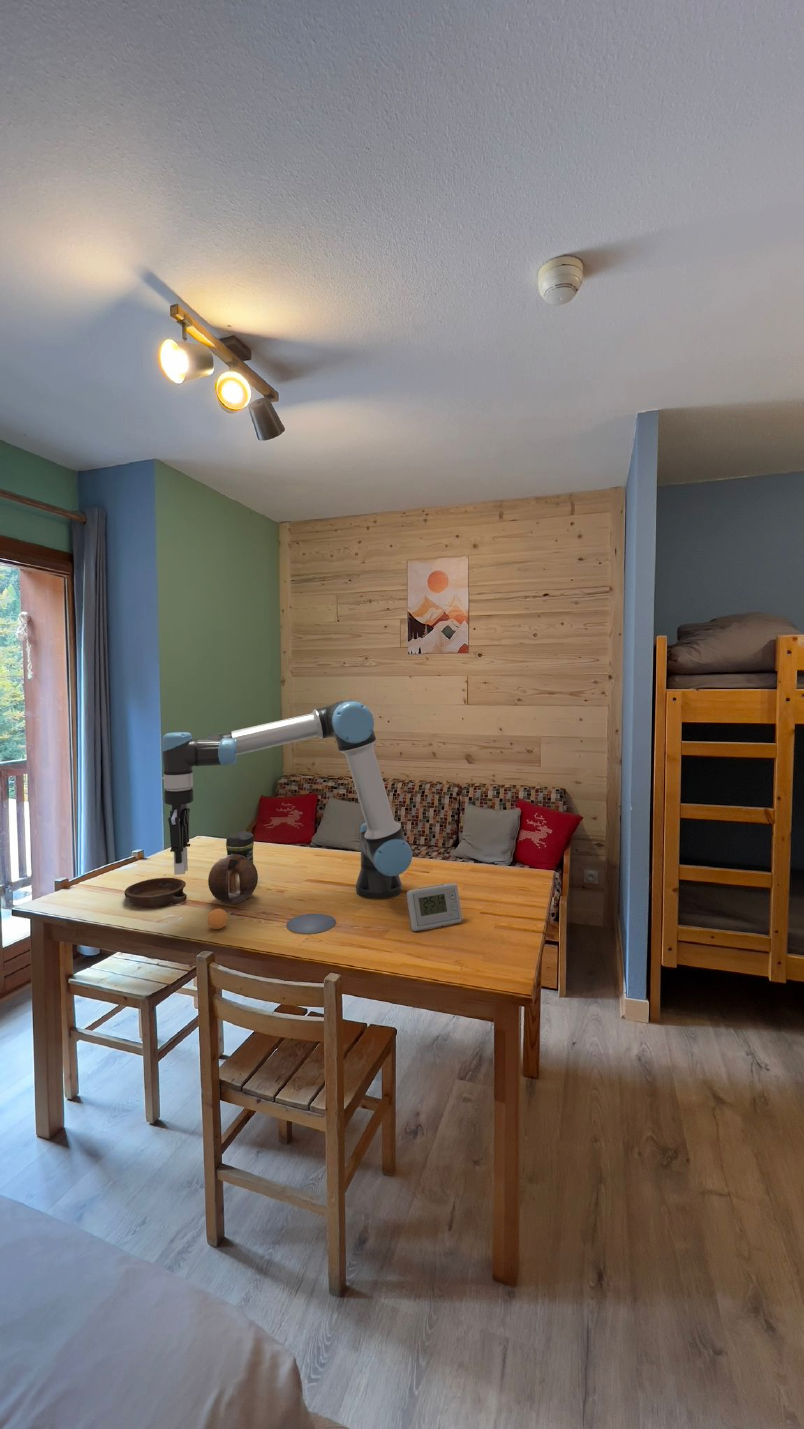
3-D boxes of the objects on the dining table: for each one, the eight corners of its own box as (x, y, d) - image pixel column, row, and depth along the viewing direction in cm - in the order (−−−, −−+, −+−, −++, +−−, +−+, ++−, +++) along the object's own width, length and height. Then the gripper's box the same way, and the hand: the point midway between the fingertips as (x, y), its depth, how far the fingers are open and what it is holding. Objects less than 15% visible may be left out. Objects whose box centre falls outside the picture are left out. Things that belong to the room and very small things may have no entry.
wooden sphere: (219, 893, 195) (218, 848, 194) (264, 894, 194) (263, 848, 193) (201, 911, 180) (199, 862, 179) (249, 911, 179) (248, 862, 178)
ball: (229, 924, 170) (229, 905, 170) (225, 932, 165) (225, 912, 164) (209, 925, 169) (209, 906, 169) (205, 933, 164) (204, 913, 164)
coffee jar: (244, 893, 195) (243, 837, 194) (223, 891, 197) (221, 836, 196) (258, 883, 205) (257, 830, 204) (237, 881, 207) (236, 828, 206)
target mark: (335, 913, 177) (335, 912, 177) (335, 932, 164) (335, 931, 164) (288, 915, 176) (288, 914, 176) (284, 935, 162) (284, 934, 162)
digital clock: (410, 933, 163) (409, 895, 162) (403, 921, 171) (402, 884, 171) (466, 928, 166) (466, 890, 165) (457, 915, 175) (456, 880, 174)
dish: (144, 889, 200) (143, 875, 200) (202, 894, 195) (202, 879, 195) (107, 908, 183) (106, 892, 183) (170, 914, 178) (169, 898, 178)
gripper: (172, 784, 171) (174, 864, 172) (156, 794, 156) (158, 882, 157) (199, 783, 172) (201, 863, 173) (185, 793, 157) (188, 880, 158)
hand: (181, 872), depth 165 cm, fingers open, 2 cm apart
